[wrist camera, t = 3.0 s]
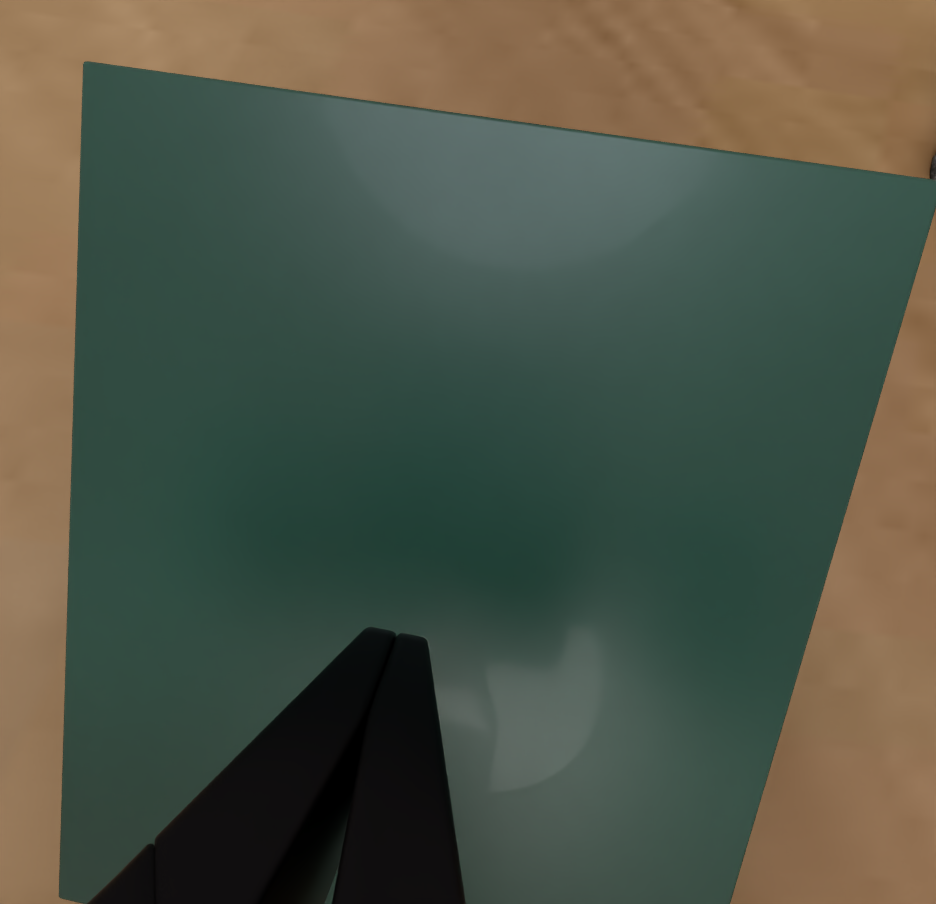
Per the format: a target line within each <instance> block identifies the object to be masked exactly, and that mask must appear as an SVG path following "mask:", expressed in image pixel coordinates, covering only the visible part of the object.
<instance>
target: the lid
mask: <svg viewBox="0 0 936 904" xmlns="http://www.w3.org/2000/svg"><path fill="white" fill-rule="evenodd" d="M935 208H936V180H932V179H925V178H918V177H911V176H904V175H897V174H890V173H882V172H875V171H868V170H861V169H854V168H847V167H839V166H832V165H825V164H818V163H811V162H804V161H797V160H789V159H782V158H775V157H768V156H761V155H754V154H747V153H739V152H732V151H725V150H718V149H711V148H704V147H696V146H689V145H682V144H675V143H668V142H661V141H654V140H646V139H639V138H632V137H625V136H618V135H611V134H604V133H596V132H589V131H582V130H575V129H568V128H561V127H553V126H546V125H539V124H532V123H525V122H518V121H511V120H503V119H496V118H489V117H482V116H475V115H468V114H461V113H453V112H446V111H439V110H432V109H425V108H418V107H410V106H403V105H396V104H389V103H382V102H375V101H368V100H360V99H353V98H346V97H339V96H332V95H325V94H318V93H310V92H303V91H296V90H289V89H282V88H275V87H267V86H260V85H253V84H246V83H239V82H232V81H225V80H217V79H210V78H203V77H196V76H189V75H182V74H175V73H167V72H160V71H153V70H146V69H139V68H132V67H124V66H117V65H110V64H103V63H96V62H89V61H87V62H84V64H83V90H82V124H81V158H80V192H79V226H78V260H77V294H76V328H75V362H74V396H73V430H72V464H71V498H70V532H69V566H68V600H67V634H66V668H65V703H64V737H63V771H62V805H61V839H60V873H59V897H60V898H62V899H66V900H70V901H74V902H79V903H83V904H87V903H88V902H89V901H90V900H91V899H92V898H93V897H94V896H95V895H96V894H98V893H99V892H100V891H101V890H102V889H103V888H104V887H105V886H106V885H107V884H108V883H109V882H110V881H111V880H112V879H113V878H114V877H115V876H116V875H117V874H118V873H119V872H120V871H121V870H122V869H123V868H124V867H125V866H126V865H127V864H128V863H129V862H130V861H131V860H132V859H133V858H134V857H135V856H136V855H137V854H138V853H139V852H140V851H141V850H142V849H143V848H144V847H145V846H146V845H148V844H150V843H152V844H154V842H155V837H156V836H157V835H158V834H159V833H160V832H161V831H162V830H163V829H164V828H165V827H166V826H167V825H168V824H169V823H170V822H171V821H172V820H173V819H174V818H175V817H176V816H177V815H178V814H179V813H180V812H181V811H182V810H183V809H184V808H185V807H186V806H187V805H188V804H189V803H190V802H191V801H192V800H193V799H194V798H195V797H196V796H197V795H198V794H199V793H200V792H201V791H202V790H203V789H204V788H205V787H206V786H207V785H208V784H209V783H210V782H211V781H212V780H213V779H214V778H215V777H216V776H217V775H218V774H219V773H220V772H221V771H222V770H223V769H224V768H225V767H226V766H227V765H228V764H229V763H230V762H231V761H232V760H233V759H234V758H235V757H236V756H237V755H238V754H239V753H240V752H241V751H242V750H243V749H244V748H245V747H246V746H247V745H248V744H249V743H250V742H251V741H252V740H253V739H254V738H255V737H256V736H257V735H258V734H259V733H260V732H261V731H262V730H263V729H264V728H265V727H266V726H267V725H268V724H269V723H270V722H271V721H272V720H273V719H274V718H275V717H276V716H277V715H278V714H279V713H280V712H281V711H282V710H283V709H284V708H285V707H286V706H287V705H288V704H289V703H290V702H291V701H292V700H293V699H294V698H295V697H297V696H298V695H299V694H300V693H301V692H302V691H303V690H304V689H305V688H306V687H307V686H308V685H309V684H310V683H311V682H312V681H313V680H314V679H315V678H316V677H317V676H318V675H319V674H320V673H321V672H322V671H323V670H324V669H325V668H326V667H327V666H328V665H329V664H330V663H331V662H332V661H333V660H334V659H335V658H336V657H337V656H338V655H339V654H340V653H341V652H342V651H343V650H344V649H345V648H346V647H347V646H348V645H349V644H350V643H351V642H352V641H353V640H354V639H355V638H356V637H357V636H358V635H359V634H360V633H361V632H362V631H363V630H364V629H366V628H368V627H375V628H380V629H386V630H391V631H393V632H395V633H396V636H397V635H398V634H400V633H406V634H411V635H416V636H421V637H424V638H426V640H427V641H428V646H429V653H430V660H431V667H432V674H433V681H434V688H435V694H436V701H437V708H438V715H439V722H440V729H441V736H442V743H443V750H444V756H445V763H446V770H447V777H448V784H449V791H450V798H451V805H452V812H453V819H454V825H455V832H456V839H457V846H458V853H459V860H460V867H461V874H462V881H463V887H464V894H465V901H466V904H730V902H731V898H732V895H733V892H734V888H735V885H736V882H737V878H738V875H739V871H740V868H741V865H742V861H743V858H744V854H745V851H746V848H747V844H748V841H749V838H750V834H751V831H752V827H753V824H754V821H755V817H756V814H757V810H758V807H759V804H760V800H761V797H762V794H763V790H764V787H765V783H766V780H767V777H768V773H769V770H770V767H771V763H772V760H773V756H774V753H775V750H776V746H777V743H778V739H779V736H780V733H781V729H782V726H783V723H784V719H785V716H786V712H787V709H788V706H789V702H790V699H791V695H792V692H793V689H794V685H795V682H796V679H797V675H798V672H799V668H800V665H801V662H802V658H803V655H804V652H805V648H806V645H807V641H808V638H809V635H810V631H811V628H812V624H813V621H814V618H815V614H816V611H817V608H818V604H819V601H820V597H821V594H822V591H823V587H824V584H825V580H826V577H827V574H828V570H829V567H830V564H831V560H832V557H833V553H834V550H835V547H836V543H837V540H838V537H839V533H840V530H841V526H842V523H843V520H844V516H845V513H846V509H847V506H848V503H849V499H850V496H851V493H852V489H853V486H854V482H855V479H856V476H857V472H858V469H859V465H860V462H861V459H862V455H863V452H864V449H865V445H866V442H867V438H868V435H869V432H870V428H871V425H872V422H873V418H874V415H875V411H876V408H877V405H878V401H879V398H880V394H881V391H882V388H883V384H884V381H885V378H886V374H887V371H888V367H889V364H890V361H891V357H892V354H893V350H894V347H895V344H896V340H897V337H898V334H899V330H900V327H901V323H902V320H903V317H904V313H905V310H906V307H907V303H908V300H909V296H910V293H911V290H912V286H913V283H914V279H915V276H916V273H917V269H918V266H919V263H920V259H921V256H922V252H923V249H924V246H925V242H926V239H927V235H928V232H929V229H930V225H931V222H932V219H933V215H934V212H935ZM338 868H339V866H338ZM338 868H337V871H336V874H335V877H334V879H333V882H332V885H331V887H330V890H329V893H328V895H327V898H326V901H325V903H324V904H332V900H333V894H334V889H335V884H336V878H337V873H338Z"/></svg>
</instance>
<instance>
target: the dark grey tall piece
mask: <svg viewBox="0 0 936 904" xmlns="http://www.w3.org/2000/svg"><path fill="white" fill-rule="evenodd" d="M930 176H931V179H932V180H936V154H935V156H934V157H933V160H932V165H931V170H930Z"/></svg>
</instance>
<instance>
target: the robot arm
mask: <svg viewBox="0 0 936 904" xmlns="http://www.w3.org/2000/svg"><path fill="white" fill-rule="evenodd" d="M338 866H339V868H338ZM337 868H338V873H337V878H336V884H335V889H334V894H333V900H332V904H466V901H465V894H464V887H463V881H462V874H461V867H460V860H459V853H458V846H457V839H456V832H455V825H454V819H453V812H452V805H451V798H450V791H449V784H448V777H447V770H446V763H445V756H444V750H443V743H442V736H441V729H440V722H439V715H438V708H437V701H436V694H435V688H434V681H433V674H432V667H431V660H430V653H429V646H428V641H427V640H426V638H424V637H421V636H416V635H411V634H406V633H400V634H398V635H397V636H396V633H395V632H393V631H391V630H386V629H380V628H375V627H368V628H366V629H364V630H363V631H362V632H361V633H360V634H359V635H358V636H357V637H356V638H355V639H354V640H353V641H352V642H351V643H350V644H349V645H348V646H347V647H346V648H345V649H344V650H343V651H342V652H341V653H340V654H339V655H338V656H337V657H336V658H335V659H334V660H333V661H332V662H331V663H330V664H329V665H328V666H327V667H326V668H325V669H324V670H323V671H322V672H321V673H320V674H319V675H318V676H317V677H316V678H315V679H314V680H313V681H312V682H311V683H310V684H309V685H308V686H307V687H306V688H305V689H304V690H303V691H302V692H301V693H300V694H299V695H298V696H297V697H295V698H294V699H293V700H292V701H291V702H290V703H289V704H288V705H287V706H286V707H285V708H284V709H283V710H282V711H281V712H280V713H279V714H278V715H277V716H276V717H275V718H274V719H273V720H272V721H271V722H270V723H269V724H268V725H267V726H266V727H265V728H264V729H263V730H262V731H261V732H260V733H259V734H258V735H257V736H256V737H255V738H254V739H253V740H252V741H251V742H250V743H249V744H248V745H247V746H246V747H245V748H244V749H243V750H242V751H241V752H240V753H239V754H238V755H237V756H236V757H235V758H234V759H233V760H232V761H231V762H230V763H229V764H228V765H227V766H226V767H225V768H224V769H223V770H222V771H221V772H220V773H219V774H218V775H217V776H216V777H215V778H214V779H213V780H212V781H211V782H210V783H209V784H208V785H207V786H206V787H205V788H204V789H203V790H202V791H201V792H200V793H199V794H198V795H197V796H196V797H195V798H194V799H193V800H192V801H191V802H190V803H189V804H188V805H187V806H186V807H185V808H184V809H183V810H182V811H181V812H180V813H179V814H178V815H177V816H176V817H175V818H174V819H173V820H172V821H171V822H170V823H169V824H168V825H167V826H166V827H165V828H164V829H163V830H162V831H161V832H160V833H159V834H158V835H157V836H156V837H155V842H154V844H152V843H150V844H148V845H146V846H145V847H144V848H143V849H142V850H141V851H140V852H139V853H138V854H137V855H136V856H135V857H134V858H133V859H132V860H131V861H130V862H129V863H128V864H127V865H126V866H125V867H124V868H123V869H122V870H121V871H120V872H119V873H118V874H117V875H116V876H115V877H114V878H113V879H112V880H111V881H110V882H109V883H108V884H107V885H106V886H105V887H104V888H103V889H102V890H101V891H100V892H99V893H98V894H96V895H95V896H94V897H93V898H92V899H91V900H90V901H89V902H88V903H87V904H324V903H325V901H326V898H327V895H328V893H329V890H330V887H331V885H332V882H333V879H334V877H335V874H336V871H337Z"/></svg>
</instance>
